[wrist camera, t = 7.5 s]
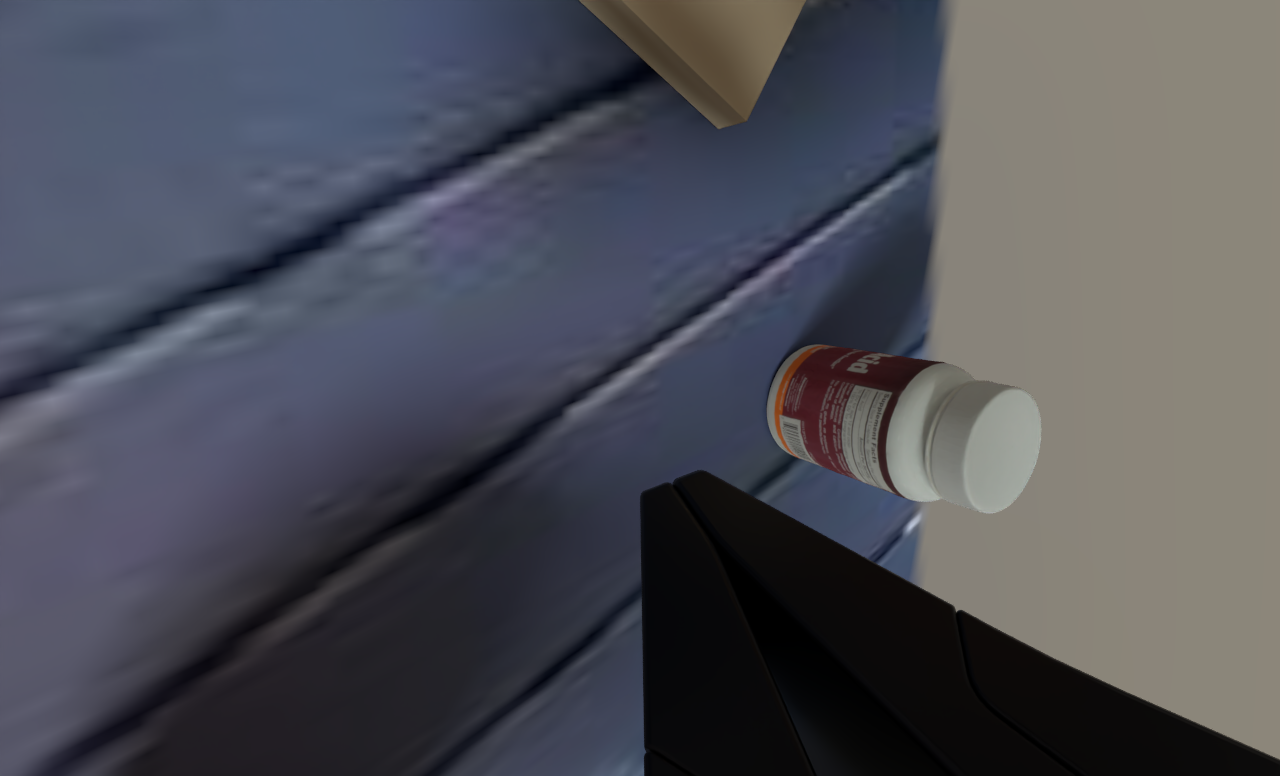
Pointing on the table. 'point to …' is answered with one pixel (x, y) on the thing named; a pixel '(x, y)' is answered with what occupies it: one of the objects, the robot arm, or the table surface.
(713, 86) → the pipe board
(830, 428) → the pill bottle
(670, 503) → the robot arm
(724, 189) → the table surface
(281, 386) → the table surface
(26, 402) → the table surface
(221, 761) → the table surface
